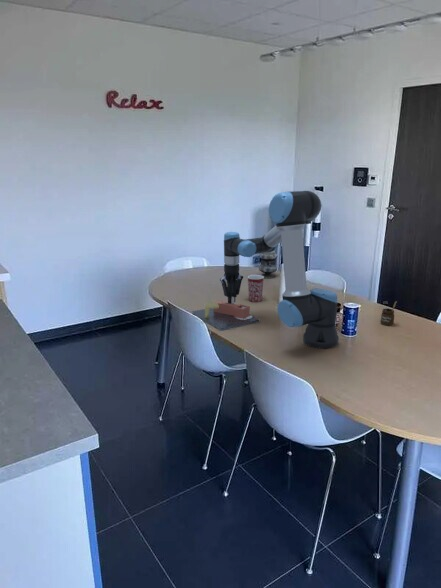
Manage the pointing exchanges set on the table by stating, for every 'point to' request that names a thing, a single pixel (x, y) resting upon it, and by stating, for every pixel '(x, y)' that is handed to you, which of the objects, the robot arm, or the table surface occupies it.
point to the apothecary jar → (268, 264)
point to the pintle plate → (224, 319)
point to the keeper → (209, 306)
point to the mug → (255, 287)
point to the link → (233, 309)
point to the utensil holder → (388, 316)
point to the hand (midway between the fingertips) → (231, 308)
